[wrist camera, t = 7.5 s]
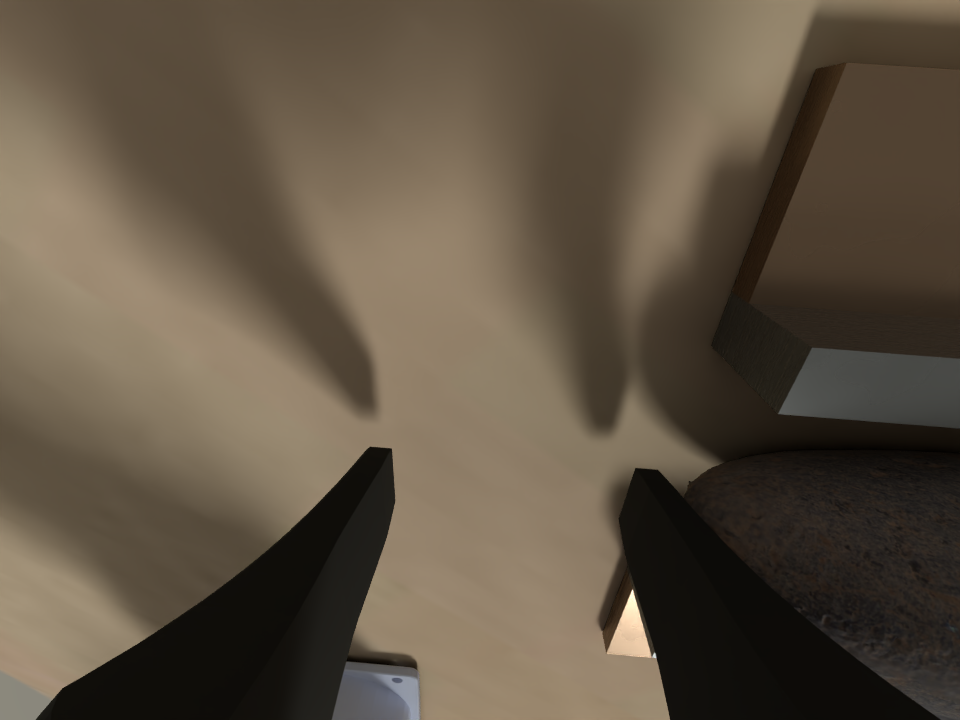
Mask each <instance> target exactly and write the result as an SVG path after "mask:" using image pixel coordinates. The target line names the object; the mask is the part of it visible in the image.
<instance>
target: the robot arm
mask: <svg viewBox="0 0 960 720" xmlns="http://www.w3.org/2000/svg"><path fill="white" fill-rule="evenodd" d="M394 504H395V489H394V474H393V459H392V449H391V448H379V447H369V448H368V449H367V450H366V451H365V452H364V453H363V454H362V456H361V457H360V458H359V459H358V460H357V461H356V463H355V464H354V465H353V466H352V467H351V468H350V469H349V471H348V472H347V473H346V474H345V475H344V476H343V477H342V478H341V479H340V481H339V482H338V483H337V484H336V485H335V486H334V487H333V488H332V489H331V490H330V491H329V492H328V493H327V494H326V495H325V496H324V497H323V499H322V500H321V501H320V502H319V503H318V504H317V505H316V506H315V507H314V508H313V509H312V510H311V511H310V512H309V513H308V514H307V515H306V516H304V517H303V518H302V519H301V520H300V521H299V522H298V523H297V524H296V525H295V526H294V527H293V528H292V529H291V530H290V531H289V532H288V533H287V534H285V535H284V536H283V537H282V538H281V539H280V540H279V541H278V542H276V543H275V544H274V545H273V546H272V547H271V548H270V549H268V550H267V551H266V552H265V553H264V554H262V555H261V556H260V557H259V558H258V559H256V560H255V561H254V562H253V563H252V564H250V565H249V566H248V567H247V568H245V569H244V570H243V571H241V572H240V573H239V574H237V575H236V576H235V577H234V578H232V579H231V580H230V581H228V582H227V583H226V584H224V585H223V586H222V587H221V588H219V589H218V590H216V591H215V592H214V593H212V594H211V595H210V596H208V597H207V598H205V599H204V600H203V601H201V602H200V603H198V604H197V605H195V606H194V607H192V608H191V609H190V610H188V611H187V612H185V613H184V614H182V615H181V616H179V617H178V618H176V619H175V620H173V621H172V622H170V623H169V624H167V625H166V626H164V627H163V628H161V629H160V630H158V631H157V632H155V633H154V634H152V635H151V636H149V637H148V638H146V639H145V640H143V641H141V642H140V643H138V644H137V645H135V646H133V647H132V648H130V649H128V650H127V651H125V652H123V653H122V654H120V655H118V656H117V657H115V658H113V659H112V660H110V661H108V662H107V663H105V664H103V665H102V666H100V667H98V668H97V669H95V670H93V671H92V672H90V673H88V674H87V675H85V676H83V677H81V678H80V679H78V680H76V681H75V682H73V683H71V684H69V685H68V686H66V687H64V688H62V690H61V691H60V692H59V693H58V694H57V695H56V697H55V698H54V699H53V700H52V701H51V702H50V703H49V705H48V706H47V707H46V708H45V709H44V710H43V712H42V713H41V714H40V715H39V716H38V718H37V719H36V720H421V716H420V682H419V672H418V671H417V670H416V669H414V668H411V667H403V666H392V665H381V664H370V663H360V662H349V661H347V657H348V653H349V649H350V645H351V641H352V638H353V634H354V631H355V628H356V625H357V621H358V618H359V615H360V613H361V610H362V607H363V604H364V601H365V598H366V596H367V593H368V590H369V587H370V584H371V581H372V578H373V576H374V573H375V570H376V567H377V564H378V561H379V558H380V556H381V553H382V550H383V547H384V544H385V541H386V538H387V535H388V530H389V526H390V522H391V518H392V513H393V509H394ZM619 524H620V529H621V535H622V541H623V546H624V551H625V556H626V560H627V563H628V566H629V570H630V573H631V576H632V580H633V583H634V586H635V589H636V592H637V596H638V599H639V602H640V605H641V608H642V612H643V615H644V618H645V621H646V624H647V628H648V631H649V634H650V637H651V640H652V644H653V647H654V651H655V654H656V658H657V662H658V665H659V670H660V674H661V679H662V683H663V688H664V693H665V697H666V702H667V706H668V711H669V716H670V720H941V719H939V718H938V717H936V716H935V715H933V714H932V713H931V712H929V711H928V710H926V709H925V708H924V707H922V706H921V705H919V704H918V703H917V702H915V701H914V700H912V699H911V698H910V697H908V696H907V695H905V694H904V693H903V692H901V691H900V690H898V689H897V688H896V687H894V686H893V685H891V684H890V683H889V682H887V681H886V680H885V679H883V678H882V677H881V676H879V675H878V674H876V673H875V672H874V671H872V670H871V669H870V668H868V667H867V666H866V665H864V664H863V663H862V662H860V661H859V660H858V659H857V658H855V657H854V656H853V655H851V654H850V653H849V652H848V651H846V650H845V649H844V648H843V647H841V646H840V645H839V644H837V643H836V642H835V641H834V640H832V639H831V638H830V637H829V636H827V635H826V634H825V633H824V632H822V631H821V630H820V629H819V628H817V627H816V626H815V625H814V624H813V623H811V622H810V621H809V620H808V619H807V618H805V617H804V616H803V615H802V614H801V613H800V612H798V611H797V610H796V609H795V608H794V607H793V606H792V605H790V604H789V603H788V602H787V601H786V600H785V599H784V598H782V597H781V596H780V595H779V594H778V593H777V592H775V591H774V590H773V589H772V588H771V587H770V586H769V585H768V584H767V583H766V582H765V581H763V580H762V579H761V578H760V577H759V576H758V575H757V574H756V573H755V572H754V571H753V570H752V569H751V568H750V567H749V566H748V565H747V564H746V563H745V562H744V561H743V560H742V559H741V558H740V557H739V556H737V555H736V554H735V553H734V552H733V551H732V550H731V548H730V547H729V546H728V545H727V544H726V543H725V542H724V541H723V540H722V539H721V538H720V537H719V536H718V535H717V534H716V533H715V532H714V531H713V530H712V529H711V528H710V527H709V526H708V525H707V523H706V522H705V521H704V520H703V519H702V518H701V517H700V516H699V515H698V514H697V513H696V512H695V510H694V509H693V508H692V507H691V506H690V505H689V504H688V503H687V502H686V500H685V499H684V498H683V497H682V496H681V495H680V494H679V493H678V491H677V490H676V489H675V488H674V487H673V486H672V485H671V484H670V483H669V481H668V480H667V479H666V478H665V477H664V476H663V475H662V474H661V473H660V472H659V471H658V470H653V469H641V468H635V471H634V474H633V477H632V480H631V483H630V486H629V489H628V492H627V495H626V498H625V501H624V505H623V508H622V511H621V514H620V517H619Z"/></svg>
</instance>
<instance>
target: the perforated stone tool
mask: <svg viewBox="0 0 960 720" xmlns="http://www.w3.org/2000/svg"><path fill="white" fill-rule="evenodd" d="M684 499H685V500H686V502H687V503H688V504H689V505H690V506H691V507H692V508H693V509H694V510H695V512H696V513H697V514H698V515H699V516H700V517H701V518H702V519H703V520H704V521H705V522H706V523H707V525H708V526H709V527H710V528H711V529H712V530H713V531H714V532H715V533H716V534H717V535H718V536H719V537H720V538H721V539H722V540H723V541H724V542H725V543H726V544H727V545H728V546H729V547H730V548H731V550H732V551H733V552H734V553H735V554H736V555H737V556H739V557H740V558H741V559H742V560H743V561H744V562H745V563H746V564H747V565H748V566H749V567H750V568H751V569H752V570H753V571H754V572H755V573H756V574H757V575H758V576H759V577H760V578H761V579H762V580H763V581H765V582H766V583H767V584H768V585H769V586H770V587H771V588H772V589H773V590H774V591H775V592H777V593H778V594H779V595H780V596H781V597H782V598H784V599H785V600H786V601H787V602H788V603H789V604H790V605H792V606H793V607H794V608H795V609H796V610H797V611H798V612H800V613H801V614H802V615H803V616H804V617H805V618H807V619H808V620H809V621H810V622H811V623H813V624H814V625H815V626H816V627H817V628H819V629H820V630H821V631H822V632H824V633H825V634H826V635H827V636H829V637H830V638H831V639H832V640H834V641H835V642H836V643H837V644H839V645H840V646H841V647H843V648H844V649H845V650H846V651H848V652H849V653H850V654H851V655H853V656H854V657H855V658H857V659H858V660H859V661H860V662H862V663H863V664H864V665H866V666H867V667H868V668H870V669H871V670H872V671H874V672H875V673H876V674H878V675H879V676H881V677H882V678H883V679H885V680H886V681H887V682H889V683H890V684H891V685H893V686H894V687H896V688H897V689H898V690H900V691H901V692H903V693H904V694H905V695H907V696H908V697H910V698H911V699H912V700H914V701H915V702H917V703H918V704H919V705H921V706H922V707H924V708H925V709H926V710H928V711H929V712H931V713H932V714H933V715H935V716H936V717H938V718H939V719H941V720H960V454H959V453H941V452H921V451H897V450H805V451H804V450H801V451H786V452H777V453H769V454H762V455H755V456H750V457H745V458H741V459H737V460H733V461H729V462H726V463H723V464H720V465H718V466H715V467H712V468H711V469H709V470H707V471H706V472H704V473H703V474H701V475H700V476H699V477H698V478H697V479H695V480H694V481H692V482H691V481H689V485H688V490H687V492H686V494H685V496H684Z"/></svg>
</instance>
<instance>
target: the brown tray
mask: <svg viewBox="0 0 960 720" xmlns="http://www.w3.org/2000/svg"><path fill="white" fill-rule="evenodd" d="M711 346H712V347H713V348H714V349H715V350H716V351H717V352H718V353H719V354H720V355H721V356H722V357H723V358H724V359H725V360H726V361H727V362H728V363H729V364H730V365H731V367H732V368H733V369H734V370H735V371H736V372H737V373H738V374H739V375H740V376H741V377H742V378H743V379H744V380H745V381H746V382H747V383H748V384H749V385H750V386H751V387H752V388H753V389H754V390H755V391H756V392H757V393H758V394H759V395H760V396H761V397H762V398H763V399H764V400H765V401H766V402H767V403H768V404H769V405H770V406H771V407H772V408H773V409H774V411H775V412H776V413H777V414H784V415H796V416H809V417H822V418H834V419H847V420H860V421H872V422H885V423H897V424H910V425H923V426H935V427H948V428H960V70H957V69H941V68H925V67H909V66H893V65H877V64H861V63H843V64H838V65H833V66H829V67H824V68H819V69H816V71H815V74H814V77H813V79H812V82H811V85H810V87H809V90H808V92H807V95H806V98H805V100H804V103H803V106H802V108H801V111H800V114H799V116H798V119H797V121H796V124H795V127H794V129H793V132H792V135H791V137H790V140H789V143H788V145H787V148H786V150H785V153H784V156H783V158H782V161H781V164H780V166H779V169H778V172H777V174H776V177H775V179H774V182H773V185H772V187H771V190H770V193H769V195H768V198H767V200H766V203H765V206H764V208H763V211H762V214H761V216H760V219H759V222H758V224H757V227H756V229H755V232H754V235H753V237H752V240H751V243H750V245H749V248H748V251H747V253H746V256H745V258H744V261H743V264H742V266H741V269H740V272H739V274H738V277H737V280H736V282H735V285H734V287H733V290H732V293H731V295H730V298H729V301H728V303H727V306H726V309H725V311H724V314H723V316H722V319H721V322H720V324H719V327H718V330H717V332H716V335H715V338H714V340H713V343H712V345H711ZM603 639H604V644H605V649H606V654H617V655H628V656H639V657H650V658H656V654H655V651H654V647H653V644H652V640H651V637H650V634H649V631H648V628H647V624H646V621H645V618H644V615H643V612H642V608H641V605H640V602H639V599H638V596H637V592H636V589H635V586H634V583H633V580H632V576H631V573H630V570H629V566H628V567H627V569H626V572H625V575H624V577H623V580H622V583H621V585H620V588H619V591H618V593H617V596H616V598H615V601H614V604H613V606H612V609H611V612H610V614H609V617H608V619H607V622H606V625H605V627H604V630H603Z"/></svg>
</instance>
